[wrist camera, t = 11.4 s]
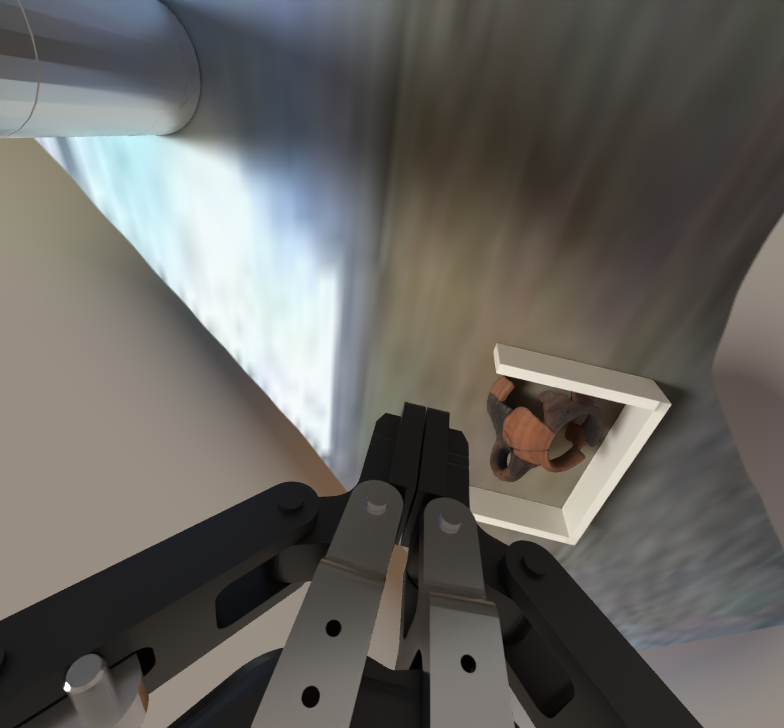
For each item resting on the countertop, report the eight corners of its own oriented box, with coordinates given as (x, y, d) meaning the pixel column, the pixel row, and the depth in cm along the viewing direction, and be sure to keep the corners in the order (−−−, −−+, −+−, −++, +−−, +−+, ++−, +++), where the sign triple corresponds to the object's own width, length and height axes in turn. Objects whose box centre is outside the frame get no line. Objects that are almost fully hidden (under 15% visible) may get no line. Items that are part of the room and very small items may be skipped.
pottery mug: (509, 346, 39) (572, 389, 33) (567, 370, 44) (631, 411, 38) (450, 445, 43) (495, 502, 36) (509, 457, 47) (559, 509, 41)
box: (444, 485, 49) (443, 512, 46) (496, 342, 39) (499, 363, 35) (566, 516, 48) (574, 545, 45) (652, 379, 38) (671, 404, 35)
